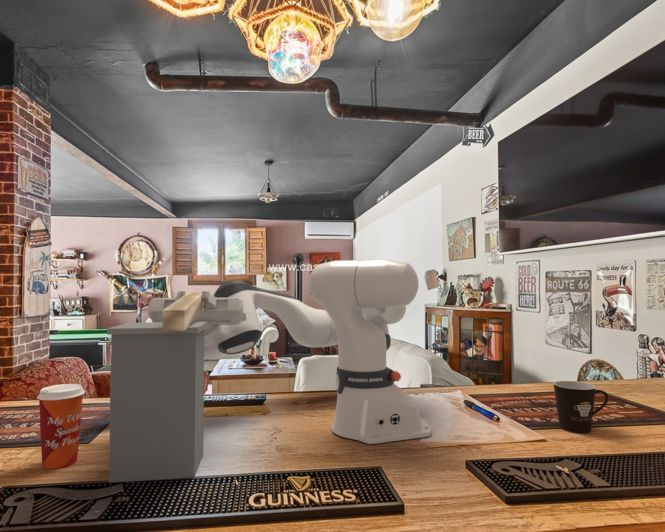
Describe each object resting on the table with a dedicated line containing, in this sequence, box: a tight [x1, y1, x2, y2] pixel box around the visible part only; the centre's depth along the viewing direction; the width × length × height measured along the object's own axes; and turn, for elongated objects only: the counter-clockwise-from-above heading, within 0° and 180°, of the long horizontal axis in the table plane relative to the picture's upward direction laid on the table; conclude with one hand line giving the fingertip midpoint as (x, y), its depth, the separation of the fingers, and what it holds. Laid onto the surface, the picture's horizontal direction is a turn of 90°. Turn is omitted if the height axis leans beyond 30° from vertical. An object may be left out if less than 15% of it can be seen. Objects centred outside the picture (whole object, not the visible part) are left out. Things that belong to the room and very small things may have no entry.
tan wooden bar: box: [163, 291, 205, 331], centre depth 85 cm, size 4×23×4 cm, turn 8°
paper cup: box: [36, 383, 86, 470], centre depth 83 cm, size 8×8×14 cm
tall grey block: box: [106, 321, 207, 483], centre depth 81 cm, size 15×11×26 cm
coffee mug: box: [553, 380, 609, 434], centre depth 101 cm, size 12×9×10 cm
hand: (192, 294), depth 92 cm, fingers closed on tan wooden bar, 3 cm apart
